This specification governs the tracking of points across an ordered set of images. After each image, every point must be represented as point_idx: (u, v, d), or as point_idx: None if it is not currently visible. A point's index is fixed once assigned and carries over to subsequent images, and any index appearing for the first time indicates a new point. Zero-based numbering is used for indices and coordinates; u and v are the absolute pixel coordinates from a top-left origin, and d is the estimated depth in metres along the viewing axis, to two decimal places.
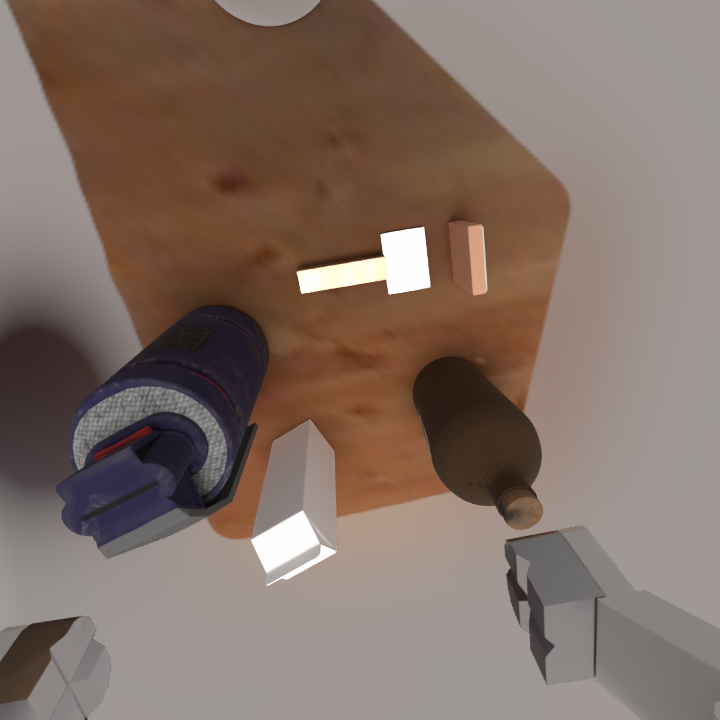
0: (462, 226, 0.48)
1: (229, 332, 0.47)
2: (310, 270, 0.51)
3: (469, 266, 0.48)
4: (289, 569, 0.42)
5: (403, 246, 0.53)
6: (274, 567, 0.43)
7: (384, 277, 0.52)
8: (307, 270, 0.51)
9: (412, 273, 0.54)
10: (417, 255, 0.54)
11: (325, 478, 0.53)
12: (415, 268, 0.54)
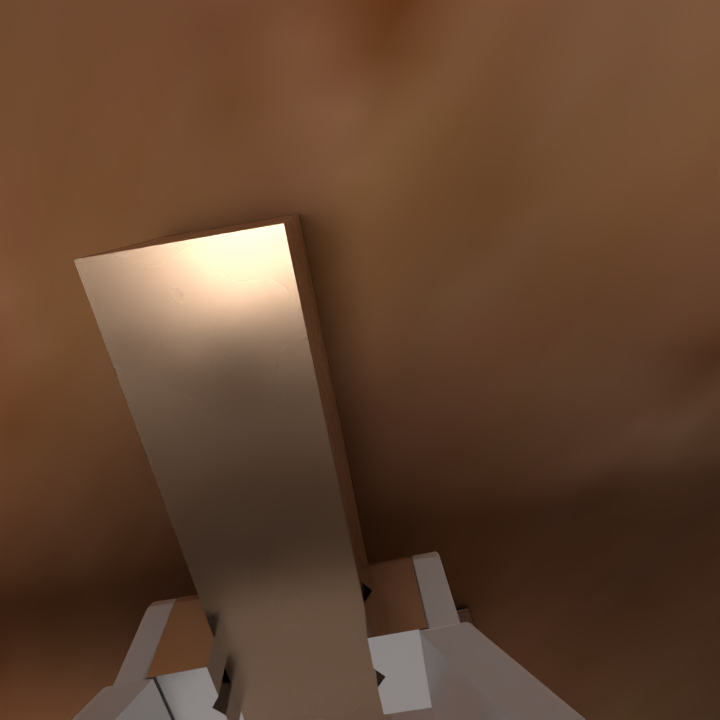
0: None
1: None
2: (299, 344, 0.06)
3: None
4: None
5: (415, 716, 0.12)
6: None
7: None
8: None
9: None
10: None
11: None
12: None
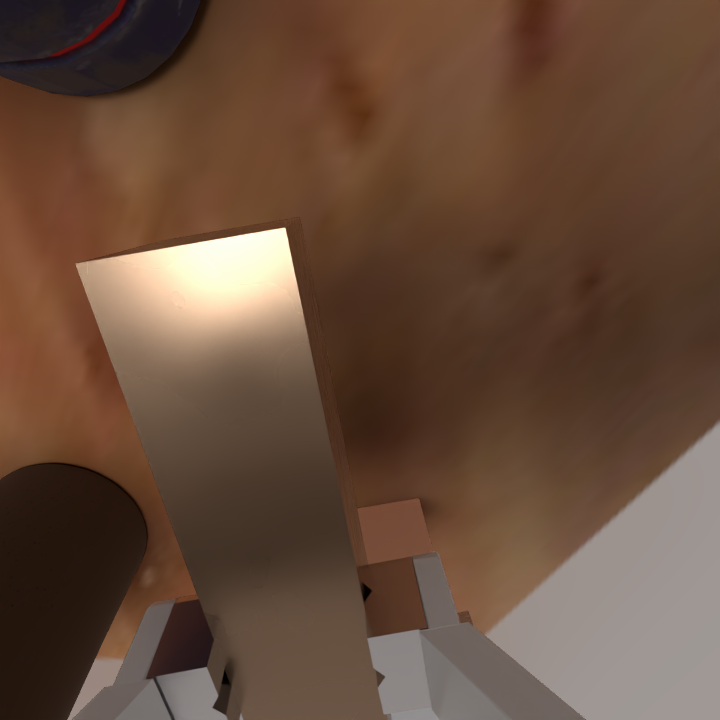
0: None
1: None
2: (300, 348, 0.06)
3: None
4: None
5: None
6: None
7: None
8: (299, 321, 0.06)
9: None
10: None
11: None
12: None
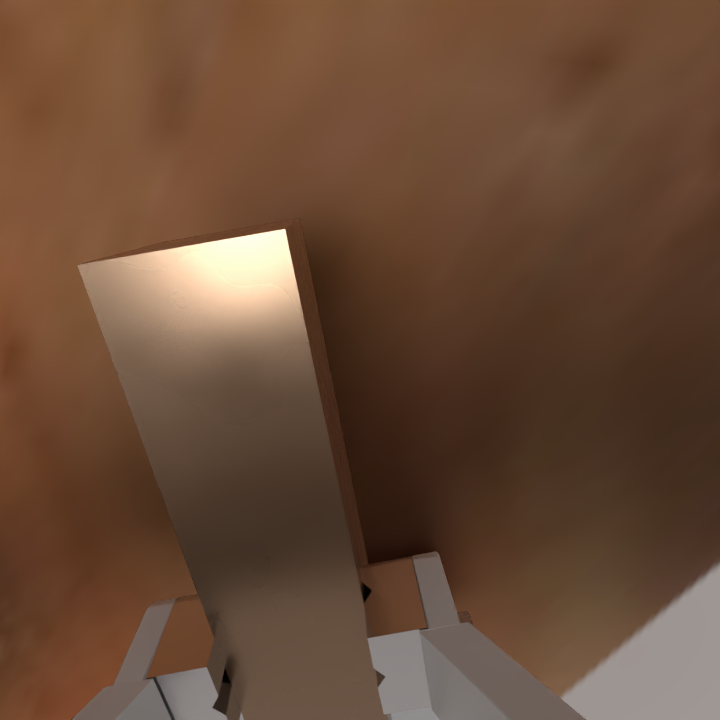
0: None
1: None
2: (300, 348, 0.06)
3: None
4: None
5: None
6: None
7: None
8: (298, 322, 0.06)
9: None
10: None
11: None
12: None
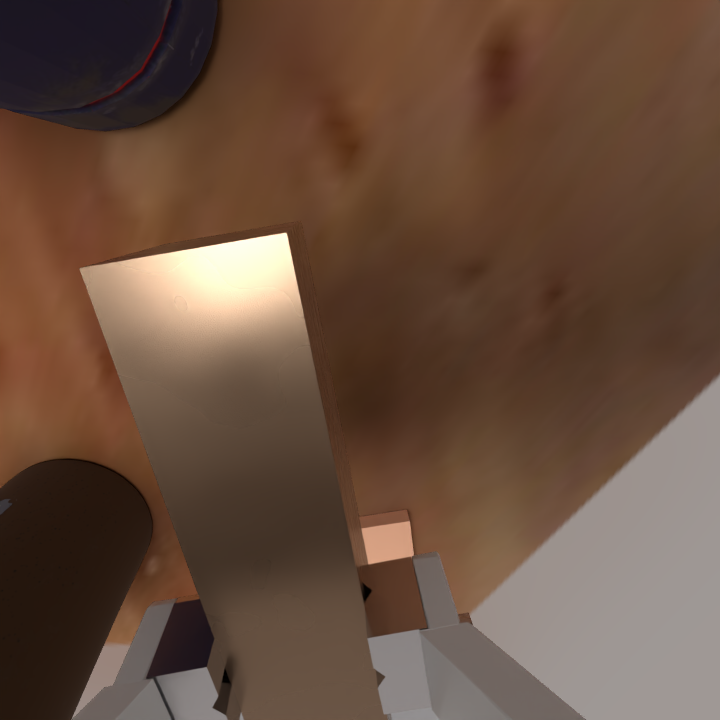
0: None
1: (136, 0, 0.14)
2: (301, 352, 0.06)
3: None
4: None
5: None
6: None
7: None
8: (300, 325, 0.06)
9: None
10: None
11: None
12: None
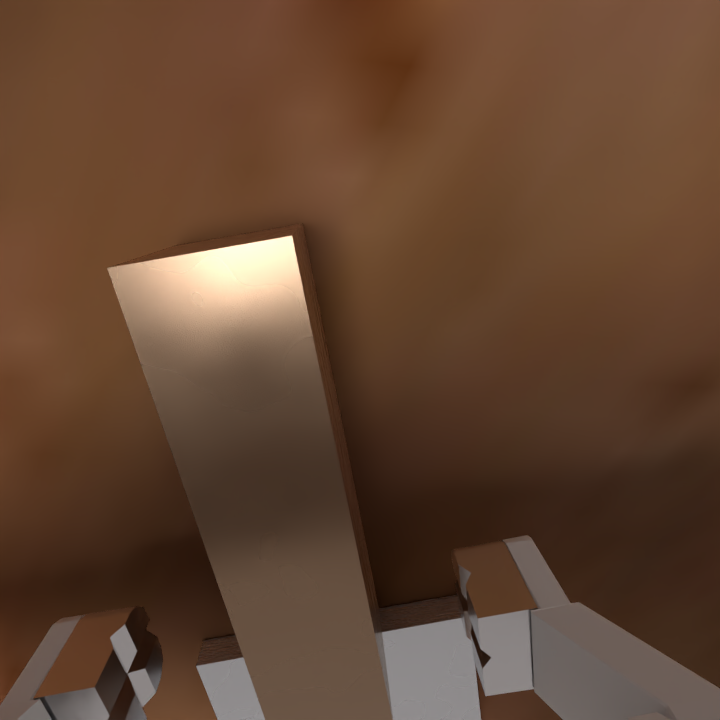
0: None
1: None
2: (305, 342, 0.07)
3: None
4: None
5: (412, 693, 0.12)
6: None
7: None
8: (304, 318, 0.07)
9: None
10: None
11: None
12: None
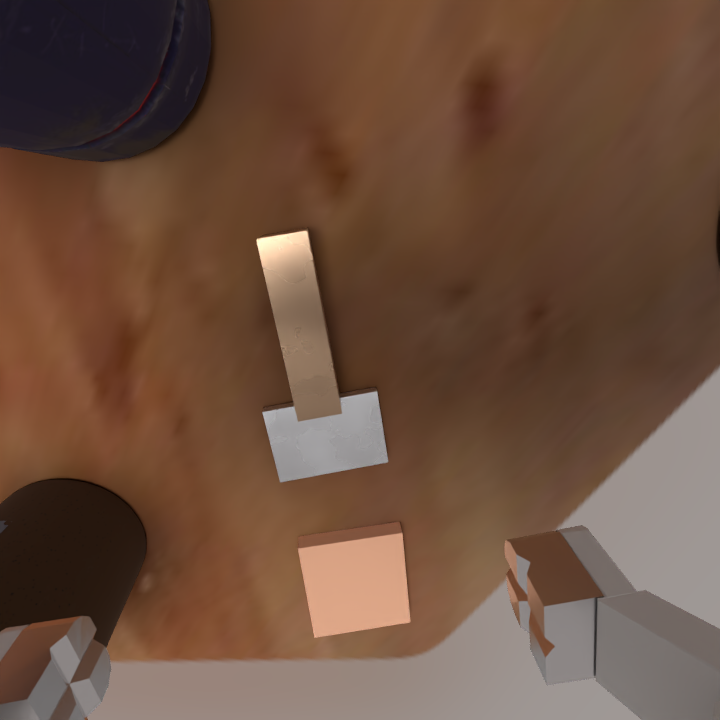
0: (407, 601, 0.33)
1: (136, 51, 0.14)
2: (310, 261, 0.23)
3: (353, 624, 0.33)
4: None
5: (354, 431, 0.29)
6: None
7: (300, 413, 0.26)
8: (310, 254, 0.23)
9: (305, 450, 0.29)
10: (338, 456, 0.29)
11: None
12: (314, 454, 0.29)
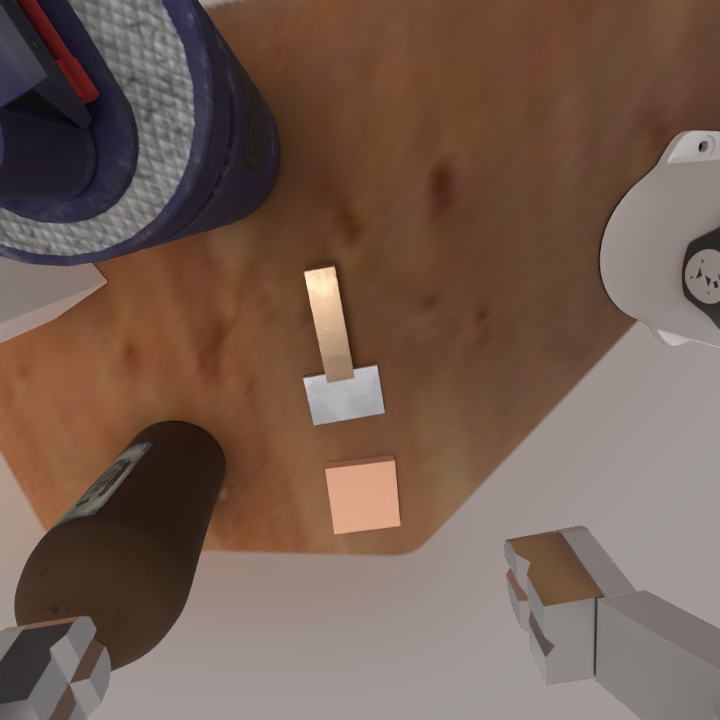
0: (397, 509, 0.48)
1: (255, 190, 0.30)
2: (336, 284, 0.38)
3: (361, 525, 0.49)
4: None
5: (362, 391, 0.44)
6: None
7: (328, 378, 0.41)
8: (335, 280, 0.38)
9: (330, 404, 0.44)
10: (352, 408, 0.45)
11: (6, 334, 0.32)
12: (336, 407, 0.44)
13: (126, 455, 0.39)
